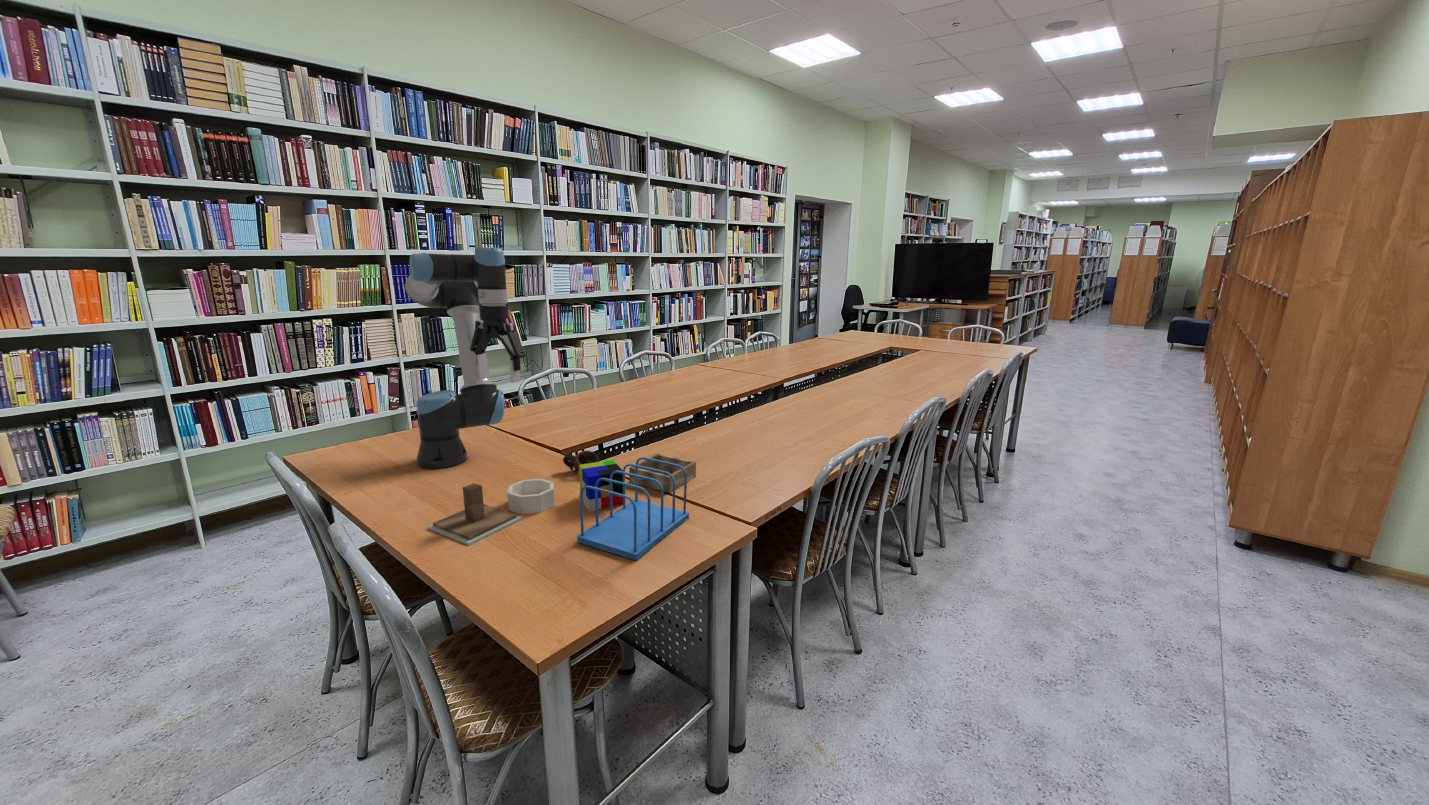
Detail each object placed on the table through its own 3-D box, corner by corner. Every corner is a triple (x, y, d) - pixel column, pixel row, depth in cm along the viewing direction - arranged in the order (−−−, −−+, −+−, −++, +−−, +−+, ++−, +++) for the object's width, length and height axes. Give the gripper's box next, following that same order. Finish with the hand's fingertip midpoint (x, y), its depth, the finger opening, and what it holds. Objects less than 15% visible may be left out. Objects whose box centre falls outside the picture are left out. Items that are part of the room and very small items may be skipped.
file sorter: (636, 562, 123) (635, 500, 120) (576, 543, 131) (573, 484, 127) (689, 518, 145) (690, 464, 141) (635, 504, 152) (634, 453, 149)
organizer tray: (629, 482, 167) (629, 467, 166) (657, 467, 180) (657, 453, 179) (669, 493, 160) (669, 477, 159) (695, 476, 173) (696, 462, 172)
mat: (427, 528, 136) (427, 526, 136) (481, 505, 150) (481, 503, 149) (469, 545, 128) (469, 543, 128) (522, 519, 142) (522, 517, 142)
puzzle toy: (589, 511, 148) (588, 477, 145) (580, 497, 156) (579, 464, 154) (624, 504, 152) (623, 471, 150) (613, 491, 161) (613, 459, 158)
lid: (433, 526, 136) (429, 490, 134) (480, 505, 148) (477, 472, 146) (469, 540, 130) (466, 502, 127) (516, 517, 142) (513, 483, 139)
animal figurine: (600, 467, 181) (604, 451, 176) (594, 489, 174) (598, 472, 169) (564, 459, 179) (567, 442, 174) (556, 480, 172) (559, 463, 167)
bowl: (500, 506, 149) (498, 490, 148) (533, 491, 159) (532, 476, 158) (530, 517, 143) (529, 500, 142) (563, 501, 153) (562, 484, 152)
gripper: (452, 302, 153) (459, 376, 159) (513, 307, 142) (519, 386, 147) (475, 301, 160) (481, 372, 165) (535, 306, 148) (540, 381, 153)
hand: (499, 379), depth 156 cm, fingers open, 13 cm apart
